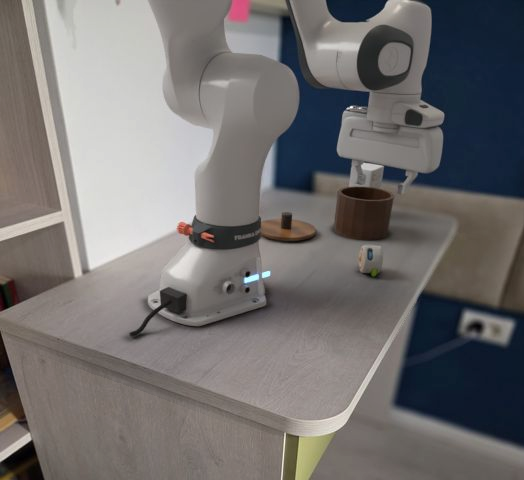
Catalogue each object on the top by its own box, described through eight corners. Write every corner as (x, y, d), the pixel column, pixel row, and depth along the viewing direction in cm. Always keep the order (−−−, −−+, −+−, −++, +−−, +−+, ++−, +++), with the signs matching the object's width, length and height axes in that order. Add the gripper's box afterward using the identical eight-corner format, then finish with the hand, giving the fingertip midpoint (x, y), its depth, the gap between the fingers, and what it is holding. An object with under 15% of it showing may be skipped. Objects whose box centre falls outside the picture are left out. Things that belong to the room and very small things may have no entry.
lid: (289, 247, 116) (291, 227, 113) (244, 232, 124) (244, 212, 121) (326, 233, 125) (328, 214, 122) (282, 220, 133) (283, 201, 130)
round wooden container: (369, 244, 120) (375, 204, 115) (323, 230, 127) (327, 192, 122) (397, 231, 129) (404, 194, 123) (352, 219, 136) (357, 183, 131)
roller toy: (359, 277, 102) (363, 250, 99) (355, 265, 108) (359, 240, 105) (380, 278, 102) (385, 251, 99) (375, 266, 108) (380, 241, 105)
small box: (357, 208, 145) (363, 162, 138) (377, 213, 142) (385, 165, 135) (344, 215, 139) (350, 166, 132) (365, 219, 136) (372, 170, 129)
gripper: (334, 105, 93) (327, 181, 100) (437, 118, 81) (420, 202, 89) (353, 103, 97) (344, 176, 104) (453, 115, 85) (436, 196, 93)
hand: (380, 188), depth 96 cm, fingers open, 8 cm apart
